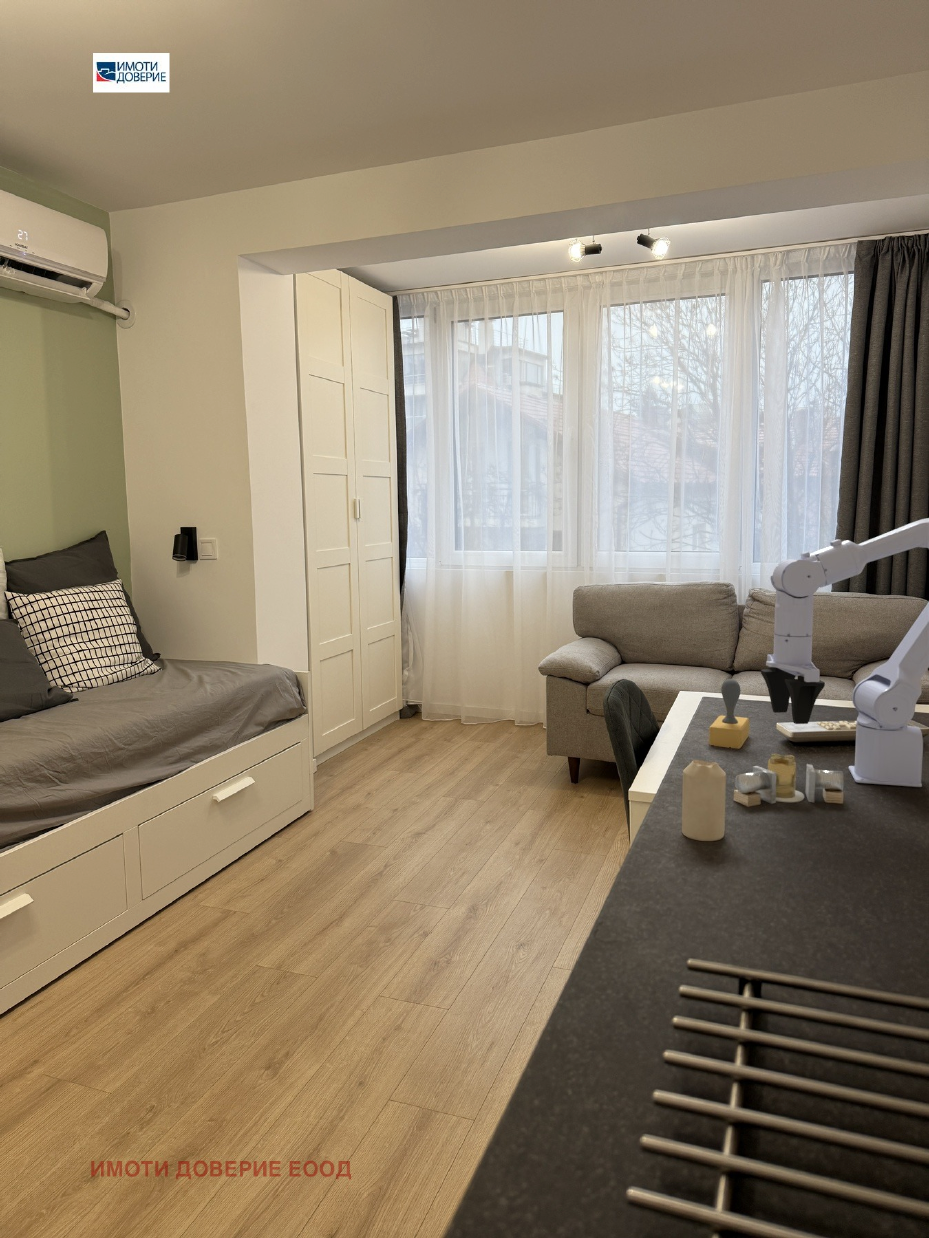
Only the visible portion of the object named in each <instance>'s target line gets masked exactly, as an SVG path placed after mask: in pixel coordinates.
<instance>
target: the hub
mask: <svg viewBox="0 0 929 1238" xmlns="http://www.w3.org/2000/svg"><path fill="white" fill-rule="evenodd" d="M767 770H770V771H773V772H775V773H776V797H777V798H792V797H794V796H795V790H796V780H797V762H796V760H795V755H792V754H786V755H781V754H779V753H771V756H770V757H769V759H768V760H767Z"/></svg>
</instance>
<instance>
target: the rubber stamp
mask: <svg viewBox="0 0 929 1238" xmlns="http://www.w3.org/2000/svg"><path fill="white" fill-rule="evenodd" d="M720 691H721V696H722V699H723V702H724V704H725V707H726V715H719V716H718V717H717V718H716V719H715V720H714V722H713V723H712V724H711V725H710V726H709V727H708V728H709V730H708V734H709V735H708V745H709V746H711V745H714V746H713V747H721V748H722V747H723V748H729V747H731V749H741V748H742V746H743V745H744V743H745V742H746V741H747V738H749V736H750V719H749V717H742V716H741V717H740V716H735V715H734V712H735V709H736V705H737V703H738V702H739V699H740V696H741V686H740V683H739V682H738V681H737V680H735V679H733V678H729V679H726V680H725V681H723V683H722V685H721V690H720Z"/></svg>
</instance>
